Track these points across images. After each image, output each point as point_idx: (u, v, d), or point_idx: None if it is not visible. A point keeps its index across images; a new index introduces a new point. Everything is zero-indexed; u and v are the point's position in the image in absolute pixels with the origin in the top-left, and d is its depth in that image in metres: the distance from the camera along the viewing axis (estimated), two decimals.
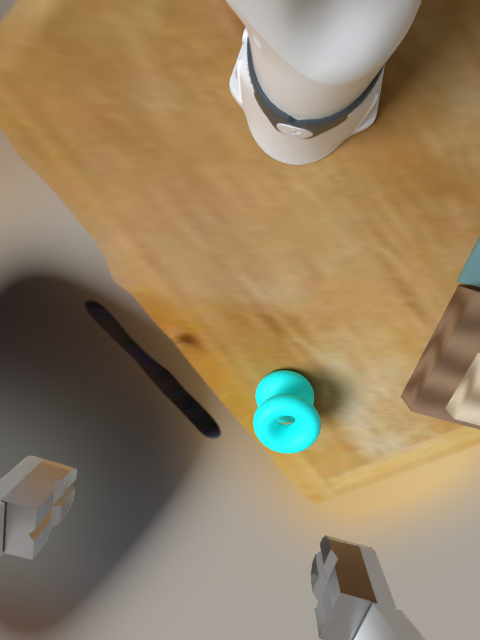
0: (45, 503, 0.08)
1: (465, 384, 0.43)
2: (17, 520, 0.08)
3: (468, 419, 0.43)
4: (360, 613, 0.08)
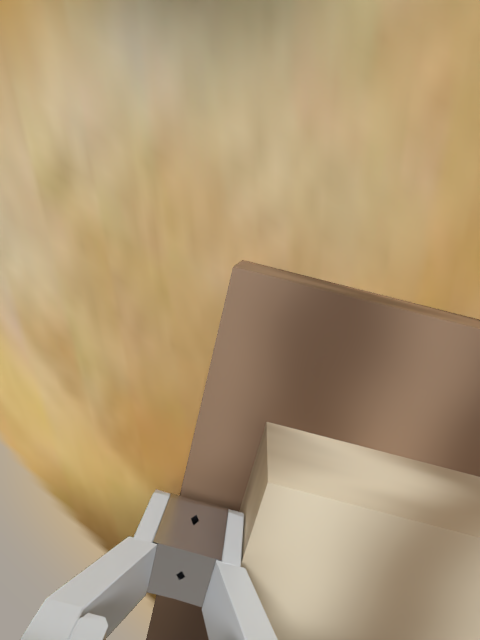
0: (190, 543, 0.08)
1: (442, 488, 0.08)
2: (166, 561, 0.08)
3: (268, 545, 0.07)
4: (208, 571, 0.08)
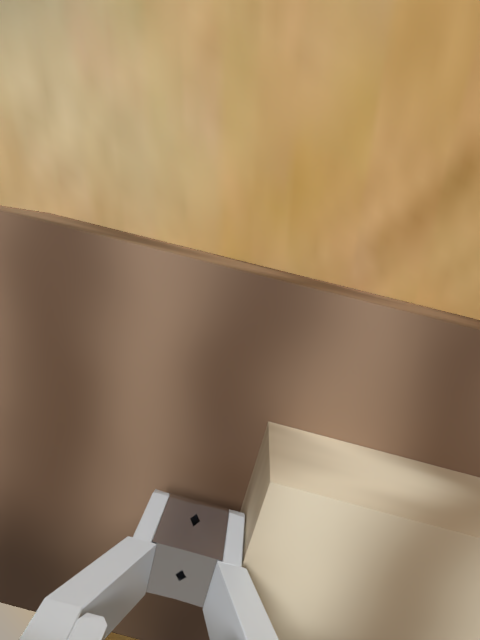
0: (190, 543, 0.08)
1: (444, 489, 0.08)
2: (165, 561, 0.08)
3: (270, 545, 0.07)
4: (209, 571, 0.08)
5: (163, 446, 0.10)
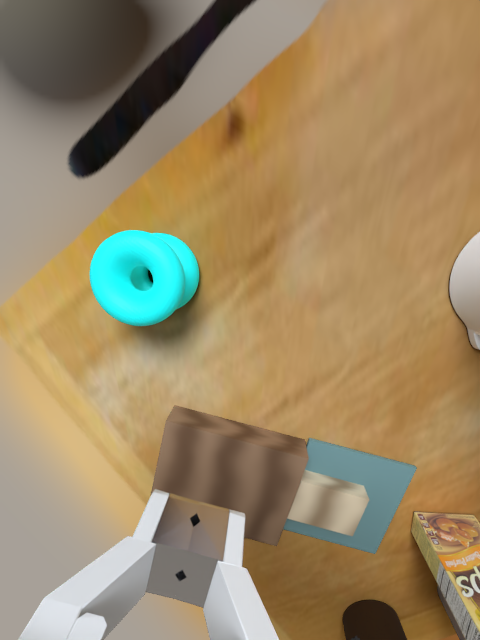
0: (189, 543, 0.08)
1: (333, 482, 0.43)
2: (165, 561, 0.08)
3: (300, 492, 0.42)
4: (209, 571, 0.08)
5: (209, 472, 0.42)
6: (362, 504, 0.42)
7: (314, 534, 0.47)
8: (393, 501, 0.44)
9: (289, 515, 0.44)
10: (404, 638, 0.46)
